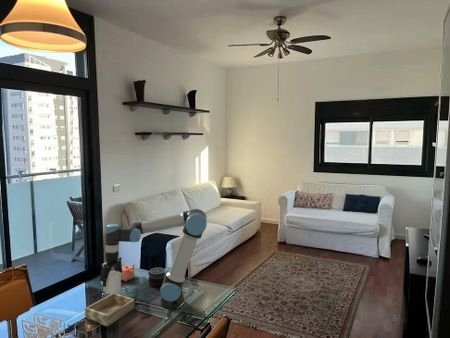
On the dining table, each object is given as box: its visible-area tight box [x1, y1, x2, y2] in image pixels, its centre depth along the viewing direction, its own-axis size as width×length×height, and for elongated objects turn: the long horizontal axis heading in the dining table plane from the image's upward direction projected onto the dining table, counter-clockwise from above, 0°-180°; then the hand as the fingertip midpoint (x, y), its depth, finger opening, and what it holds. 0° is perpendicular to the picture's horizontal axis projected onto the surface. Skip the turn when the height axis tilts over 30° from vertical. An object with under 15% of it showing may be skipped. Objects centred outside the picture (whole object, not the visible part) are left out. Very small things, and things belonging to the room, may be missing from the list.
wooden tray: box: [84, 293, 136, 327], centre depth 191 cm, size 17×22×6 cm
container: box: [147, 267, 166, 288], centre depth 232 cm, size 13×13×10 cm
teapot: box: [121, 262, 136, 283], centre depth 237 cm, size 14×12×10 cm
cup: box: [100, 270, 122, 295], centre depth 189 cm, size 8×12×10 cm
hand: (111, 288), depth 190 cm, fingers closed on cup, 8 cm apart
